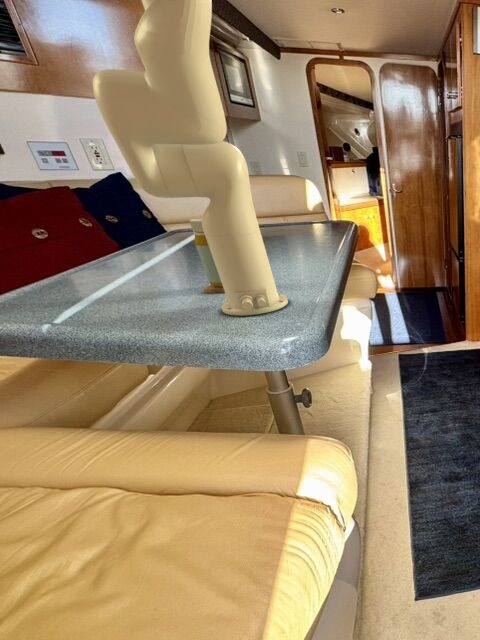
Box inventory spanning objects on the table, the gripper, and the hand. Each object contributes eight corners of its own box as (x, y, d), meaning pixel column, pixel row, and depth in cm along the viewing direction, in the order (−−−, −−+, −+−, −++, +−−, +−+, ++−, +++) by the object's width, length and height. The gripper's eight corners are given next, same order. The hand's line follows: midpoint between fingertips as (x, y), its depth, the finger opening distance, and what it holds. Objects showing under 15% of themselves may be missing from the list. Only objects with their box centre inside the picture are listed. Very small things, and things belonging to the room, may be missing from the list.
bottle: (249, 280, 102) (230, 217, 94) (230, 288, 96) (207, 221, 88) (224, 279, 102) (202, 217, 95) (203, 287, 96) (178, 221, 89)
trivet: (251, 283, 103) (250, 279, 103) (238, 292, 97) (237, 287, 96) (219, 284, 102) (218, 280, 102) (204, 293, 96) (202, 288, 95)
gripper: (193, 24, 78) (223, 127, 86) (197, 42, 91) (223, 131, 99) (144, 18, 74) (180, 126, 83) (156, 37, 87) (186, 129, 96)
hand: (203, 128), depth 91 cm, fingers open, 9 cm apart
